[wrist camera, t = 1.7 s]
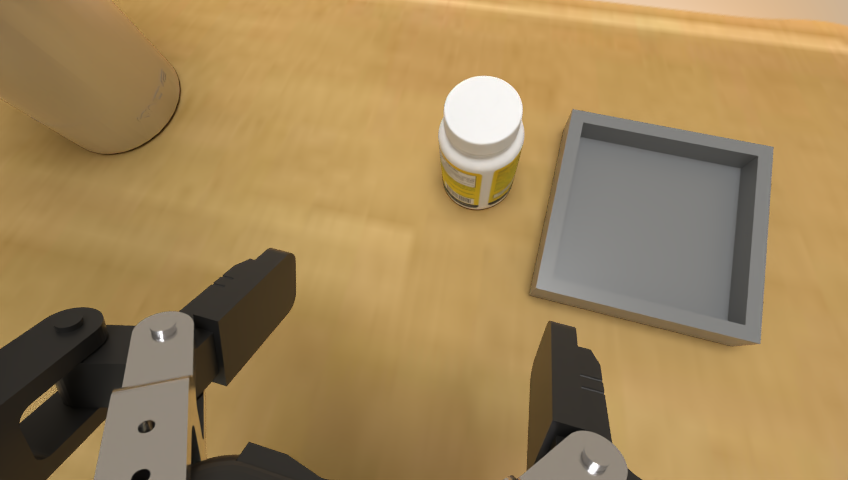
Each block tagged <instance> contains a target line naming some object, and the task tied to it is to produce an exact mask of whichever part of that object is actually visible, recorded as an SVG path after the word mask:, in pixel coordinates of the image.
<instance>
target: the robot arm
mask: <svg viewBox="0 0 848 480" xmlns="http://www.w3.org/2000/svg"><path fill="white" fill-rule="evenodd" d="M179 92H180V87H179V79H178V76H177V74H176V71H175V70H174V68H173V67H172V66H171V64H170V63H169V62H168V61H167V60H166V59H165V58H164V56H163V55H162V54H161V53H160V52H159V51H158V50H157V49H156V48H155V47H154V46H153V45H152V44H151V43H150V42H149V40H148V39H147V38H146V37H145V36H144V35H143V34H142V33H141V32H140V31H139V30H138V29H137V28H136V26H135V25H134V24H133V23H132V22H131V21H130V20H129V19H128V18H127V17H126V16H125V15H124V14H123V12H122V11H121V10H120V9H119V8H118V7H117V6H116V5H115V4H114V3H113V2H112V1H111V0H0V99H2V100H4V101H5V102H7V103H9V104H10V105H12V106H14V107H15V108H17V109H19V110H20V111H22V112H24V113H26V114H27V115H29V116H31V117H32V118H34V119H35V120H37V121H38V122H40V123H42V124H44V125H45V126H47V127H49V128H50V129H52V130H54V131H55V132H57V133H59V134H61V135H62V136H64V137H66V138H67V139H69V140H71V141H72V142H74V143H76V144H78V145H79V146H81V147H83V148H85V149H87V150H88V151H92V152H96V153H100V154H114V153H120V152H125V151H128V150H131V149H133V148H136V147H138V146H140V145H142V144H144V143H145V142H147V141H149V140H150V139H151V138H153V137H154V136H155V135H156V134H158V133H159V132H160V131H161V130H162V128H163V127H164V126H165V125H166V124H167V123H168V121H169V120H170V118H171V116H172V115H173V113H174V111H175V109H176V106H177V103H178V100H179ZM295 297H296V260H295V256H294V254H292V253H289V252H285V251H281V250H277V249H273V248H269V249H267V250H266V251H265V252H264V253H262V254H261V255H260V256H259V257H258V258H257V259H256V260H253V259H249V260H246V261H244V262H242V263H239V264H237V265H235V266H233V267H232V268H231V269H230V270H228V271H227V272H226V273H225V274H224V275H223V277H220V278H219V279H218V280H216V281H215V282H214V284H213V285H210V286H209V287H208V288H207V289H206V290H204V291H203V292H202V293H201V294H200V295H198V296H197V297H196V298H195V299H194V300H192V301H191V302H190V303H189V304H188V305H186V306H185V307H184V308H183V309H182V310H180V311H179V312H175V311H169V312H162V313H158V314H154V315H152V316H149V317H147V318H145V319H144V320H142V321H141V322H139V323H138V324H137V325H136V326H123V325H106V324H105V321H104V317H103V315H102V313H101V312H100V311H98V310H96V309H93V308H86V307H81V308H72V309H67V310H64V311H60V312H58V313H55V314H53V315H51V316H49V317H47V318H46V319H44V320H43V321H41V322H40V323H38V324H37V325H35V326H34V327H32V328H31V329H29V330H28V331H26V332H25V333H23V334H22V335H20V336H19V337H18V338H16V339H15V340H13V341H12V342H10V343H9V344H7V345H6V346H4V347H3V348H1V349H0V480H46V479H47V478H48V477H49V476H50V475H51V474H52V473H53V472H54V471H55V470H56V469H57V468H58V467H59V466H60V465H61V464H62V463H63V462H64V461H65V460H66V459H67V458H68V457H69V456H70V455H71V454H72V453H73V452H74V451H75V450H76V449H77V448H78V447H79V446H80V445H81V444H82V443H83V442H84V441H85V440H86V439H87V437H88V436H89V435H90V434H91V433H92V432H93V431H94V430H95V429H96V428H97V427H98V426H99V425H100V424H101V423H102V422H103V421H104V420H105V419H106V422H105V427H104V432H103V437H102V442H101V447H100V452H99V457H98V462H97V466H96V471H95V476H94V480H327V479H323V478H321V477H319V476H318V475H316V474H315V473H313V472H312V471H310V470H309V469H307V468H306V467H305V466H303V465H302V464H300V463H299V462H297V461H296V460H294V459H293V458H291V457H290V456H289V455H287V454H284V453H281V452H278V451H275V450H272V449H269V448H266V447H263V446H260V445H257V444H254V443H251V442H249V443H248V444H247V445H246V447H245V448H244V450H243V451H242V453H241V454H240V455H224V456H218V457H213V458H210V459H207V455H206V395H205V389H206V387H207V386H208V385H209V384H210V383H211V382H215V383H218V384H221V385H224V386H227V385H228V384H229V383H230V382H231V380H232V379H233V378H234V377H235V376H236V375H237V373H238V372H239V371H240V370H241V369H242V367H243V366H244V365H245V364H246V363H247V361H248V360H249V359H250V358H251V357H252V355H253V354H254V353H255V352H256V351H257V350H258V348H259V347H260V346H261V345H262V344H263V342H264V341H265V340H266V339H267V338H268V336H269V335H270V334H271V333H272V332H273V331H274V329H275V328H276V327H277V326H278V325H279V323H280V322H281V321H282V320H283V319H284V317H285V316H286V315H287V314H288V313H289V311H290V310H291V308H292V306H293V304H294V301H295ZM54 384H55V385H56V387H57V390H58V391H57V392H56V393H55V394H54V395H52V396H51V397H50V398H49V399H48V400H47V401H45V402H44V403H43V404H42V405H41V406H39V407H38V408H37V409H36V410H35V411H34V412H32V413H31V414H30V415H29V416H28V417H27V418H25V419H24V420H23V421H22V422H21V423H19V422H20V418H21V416H22V414H23V412H24V411H25V409H26V408H27V407H28V406H29V405H30V404H31V403H33V402H34V401H35V400H36V399H37V398H39V397H40V396H41V395H42V394H43V393H45V392H46V391H47V390H48V389H49V388H51V387H52V386H53V385H54ZM503 480H642V479H640V478H639V477H637V476H636V475H635V474H633V473H632V472H631V471H630V470H629V469H628V468H627V464H626V461H625V459H624V457H623V456H622V454H621V452H620V451H619V450H618V449H617V448H616V446H614V445H613V444H612V440H611V433H610V427H609V420H608V414H607V407H606V400H605V395H604V387H603V383H602V374H601V367H600V364H599V362H598V361H597V359H596V358H595V356H594V354H593V353H592V351H591V350H589V349H586V348H582V347H578V345H577V334H576V328H575V327H571V326H567V325H564V324H560V323H556V322H552V321H549V322H548V324H547V326H546V328H545V331H544V334H543V337H542V340H541V342H540V345H539V348H538V351H537V354H536V356H535V359H534V363H533V367H532V372H531V379H530V402H529V426H528V450H527V471H526V472H525V473H524V474H523V475H522V476H520V477H519V478H517V479H516V478H515V477H514V476H512V475H511V476H508V477H506V478H505V479H503Z"/></svg>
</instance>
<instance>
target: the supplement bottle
mask: <svg viewBox="0 0 848 480" xmlns="http://www.w3.org/2000/svg"><path fill="white" fill-rule="evenodd" d="M522 113H523V108H522V102H521V99H520V97H519V95H518V93H517V92H516V90H515V89H514V88H513V87H512V86H511V85H510V84H508V83H507V82H505V81H503V80H501V79H499V78H496V77H491V76H477V77H472V78H469V79H466V80H464V81H462V82H461V83H459V84H458V85H457V86H455V87H454V88H453V89H452V91H451V92H450V93H449V95H448V97H447V99H446V102H445V105H444V117H443V119H442V121H441V124H440V127H439V135H438V139H439V149H440V159H441V168H442V178H443V184H444V187H445V190H446V192H447V193H448V195H449V196H450V197H451V199H452V200H453V201H455V202H456V203H457V204H459V205H461V206H463V207H466V208H470V209H485V208H488V207H491V206H494V205H496V204H497V203H499V202H500V201H502V200H503V199H504V198H505V197H506V195H507V194H508V192H509V191H510V189H511V186H512V183H513V179H514V176H515V172H516V168H517V164H518V161H519V157H520V153H521V150H522V146H523V142H524V126H523V123H522Z"/></svg>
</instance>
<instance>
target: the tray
mask: <svg viewBox="0 0 848 480" xmlns="http://www.w3.org/2000/svg"><path fill="white" fill-rule="evenodd" d="M772 162H773V147H771V146H765V145H760V144H755V143H749V142H744V141H739V140H733V139H728V138H723V137H717V136H712V135H707V134H702V133H696V132H691V131H686V130H680V129H675V128H670V127H664V126H659V125H654V124H648V123H643V122H638V121H633V120H627V119H622V118H617V117H611V116H606V115H601V114H595V113H590V112H585V111H579V110H574V109H573V110H572V112H571V114H570V117H569V119H568V121H567V123H566V126H565V128H564V131H563V135H562V140H561V145H560V150H559V155H558V159H557V164H556V169H555V174H554V178H553V183H552V188H551V193H550V197H549V202H548V207H547V212H546V217H545V221H544V226H543V231H542V236H541V240H540V245H539V250H538V255H537V259H536V264H535V269H534V274H533V279H532V283H531V288H530V293H529V295H531V296H535V297H539V298H542V299H546V300H550V301H554V302H558V303H562V304H566V305H570V306H574V307H578V308H582V309H586V310H590V311H594V312H598V313H602V314H606V315H610V316H614V317H618V318H622V319H626V320H630V321H634V322H638V323H642V324H646V325H650V326H654V327H658V328H662V329H666V330H669V331H673V332H677V333H681V334H685V335H689V336H693V337H697V338H701V339H705V340H709V341H713V342H717V343H721V344H725V345H729V346H741V345H753V344H760V340H761V325H762V310H763V295H764V281H765V266H766V251H767V236H768V221H769V206H770V191H771V176H772Z"/></svg>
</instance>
